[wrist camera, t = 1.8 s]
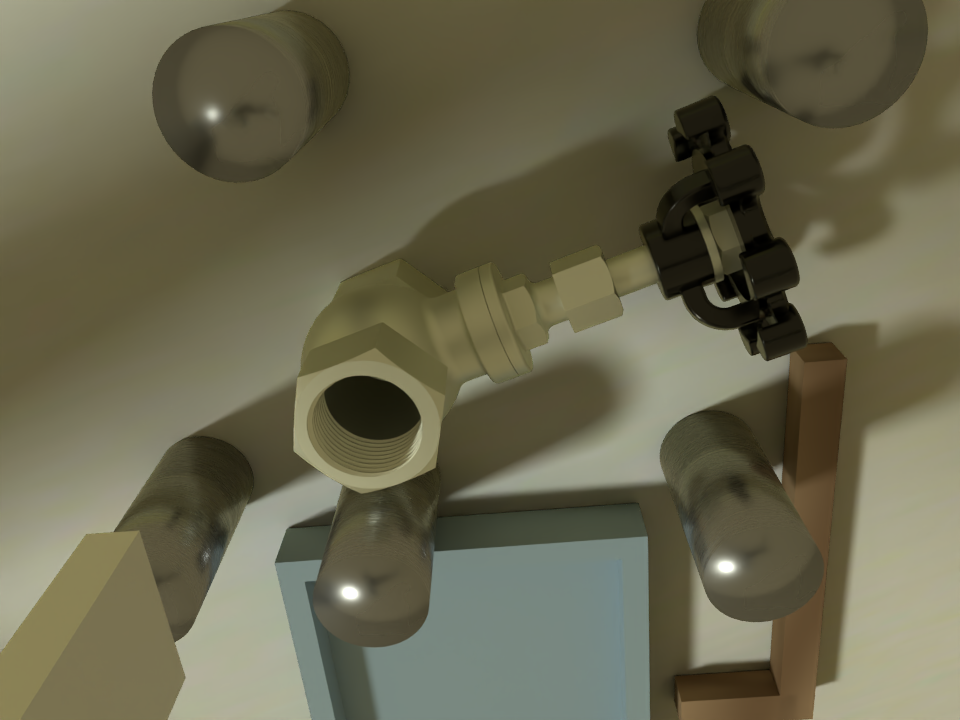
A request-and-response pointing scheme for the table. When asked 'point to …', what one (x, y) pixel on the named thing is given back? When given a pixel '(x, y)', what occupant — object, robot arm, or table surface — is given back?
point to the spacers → (414, 503)
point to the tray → (494, 624)
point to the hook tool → (810, 486)
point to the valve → (534, 314)
